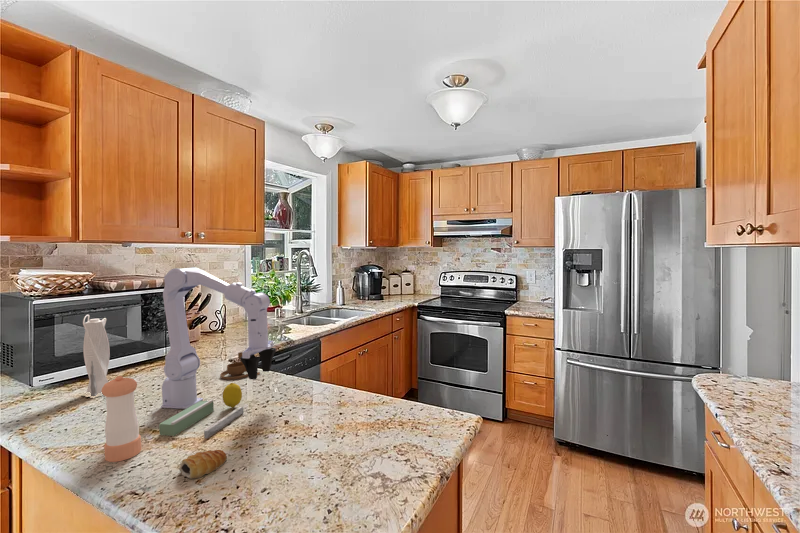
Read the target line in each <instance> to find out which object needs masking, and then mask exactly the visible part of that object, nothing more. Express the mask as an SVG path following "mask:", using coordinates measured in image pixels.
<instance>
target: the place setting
mask: <svg viewBox="0 0 800 533" xmlns="http://www.w3.org/2000/svg"><path fill="white" fill-rule="evenodd" d="M242 352H243V351H239V352H238V353H237V358H238V360H239V361H238V362H231V363H229V364H227V365H226V370H225V371H224V370H223V371H222V372H221V373H220V374H219V376H220V378H221V379H222V380H225V381H234V380H242V379H245V378H249V376H248V373H246V372H247V370H246V368H245V366H244V364H243V363H242V361H241V357H242ZM245 373H246V374H245ZM260 373H261V372H259V371H257V376H259V375H260ZM226 375H229V376H226Z"/></svg>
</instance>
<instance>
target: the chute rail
mask: <svg viewBox="0 0 800 533" xmlns="http://www.w3.org/2000/svg"><path fill="white" fill-rule="evenodd" d="M242 414H244V406H242V405H241V406H238V407H237V408H235V409H234V410H232V411H231V412H229V413H228V414H226V415H225V416H224V417H222V418H220V419H219V420H217V421H216V422H215V423H213V424H212V425H210V426H209V427H207V428H206V429H203V438H204V439H209V438H211V437H212V436H213V435H215V434H217V432H219V431H221V430H222V429H223V428H224V427H226V426H227V425H229V424H230V423H231V422H233V421H234V420H236V419H237V418H238V417H241V415H242Z"/></svg>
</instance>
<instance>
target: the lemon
mask: <svg viewBox="0 0 800 533" xmlns="http://www.w3.org/2000/svg"><path fill="white" fill-rule="evenodd" d="M242 397H243V390H242V389H241V387H240V385H239V384H237V383H234V382H230V383H229V384H227V385H226V386H225V387H224V389H223V392H222V401H223V404H224V405H226V406H227V407H229V408H231V409H234V408H235V407H236V406H238V405H239V404H240V403H241V402H242Z"/></svg>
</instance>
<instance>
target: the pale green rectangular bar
mask: <svg viewBox="0 0 800 533" xmlns="http://www.w3.org/2000/svg"><path fill="white" fill-rule="evenodd" d="M213 412H215V408H214V399H210V400H208V401H207V400H205V401H204V400H202V401H199V402H198V403H196V404H194V405H192V406H190V407H189V408H187V409H183V410H182V411H180V412H178V413H176V414H175V415H173V416H171V417H169V418H168V419H165V420H164V421H162V422H160V423H159V426H158V428H159V435H160V436H167V437H168V436H169V437H171V436H172V437H175V436H177V435H178V434H180V433H181V431H182V432H183V431H185V430H186V429H188V428H189V427H191V426H192V424H193V425H195V424H196V423H198V422H199V421H201V420H202V419H203V418H205V417H207V416H209V415H210V414H212V413H213ZM195 422H196V423H195ZM176 434H177V435H176Z"/></svg>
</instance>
